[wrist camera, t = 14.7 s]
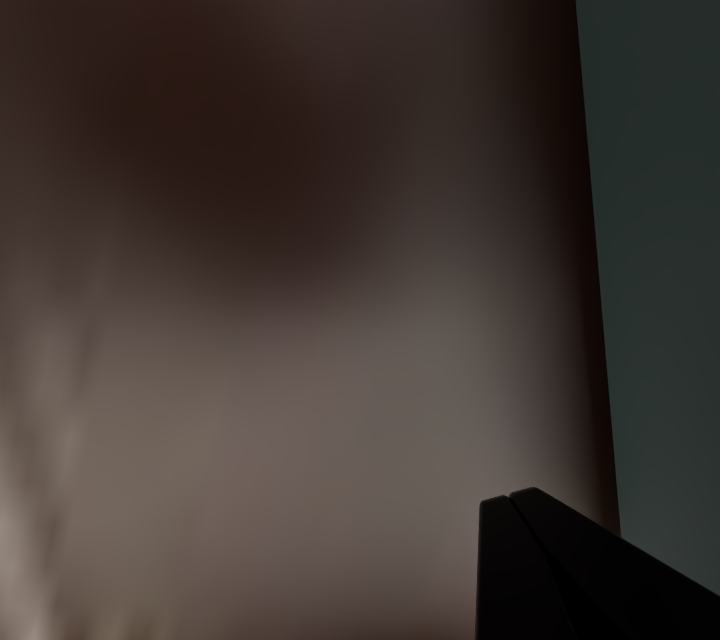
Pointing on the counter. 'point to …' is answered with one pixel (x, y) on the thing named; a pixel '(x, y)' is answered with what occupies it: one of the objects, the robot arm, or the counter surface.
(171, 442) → the counter surface
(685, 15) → the sliding tray
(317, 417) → the counter surface
